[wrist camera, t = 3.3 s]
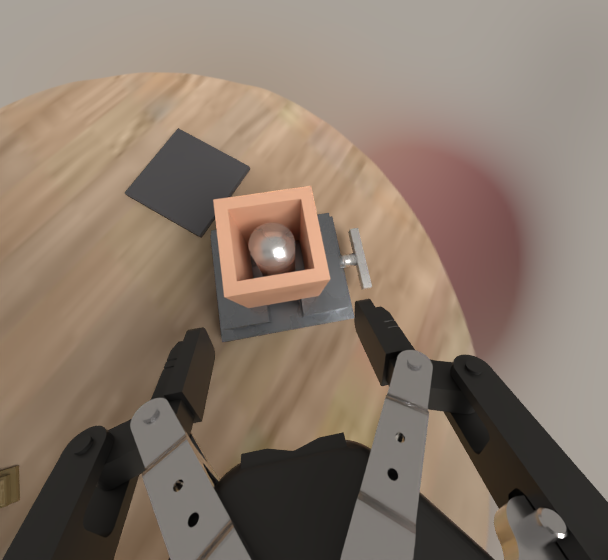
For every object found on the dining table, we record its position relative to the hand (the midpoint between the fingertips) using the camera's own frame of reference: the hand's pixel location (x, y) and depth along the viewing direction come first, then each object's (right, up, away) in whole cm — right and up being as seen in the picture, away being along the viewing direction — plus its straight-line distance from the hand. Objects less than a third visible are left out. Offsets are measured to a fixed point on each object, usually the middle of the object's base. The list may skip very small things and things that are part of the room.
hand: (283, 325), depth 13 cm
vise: (-1, +3, +13) cm, 13 cm away
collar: (-1, +3, +9) cm, 9 cm away
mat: (-12, +14, +15) cm, 24 cm away
